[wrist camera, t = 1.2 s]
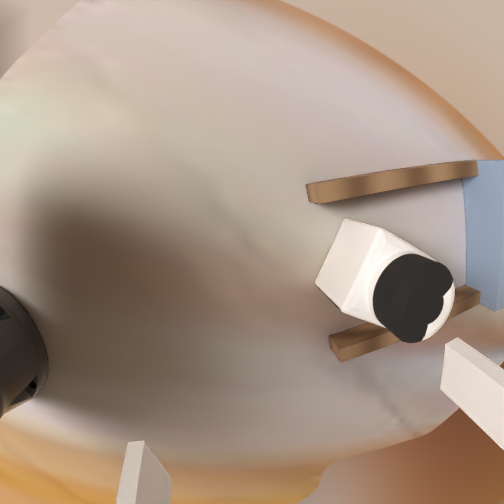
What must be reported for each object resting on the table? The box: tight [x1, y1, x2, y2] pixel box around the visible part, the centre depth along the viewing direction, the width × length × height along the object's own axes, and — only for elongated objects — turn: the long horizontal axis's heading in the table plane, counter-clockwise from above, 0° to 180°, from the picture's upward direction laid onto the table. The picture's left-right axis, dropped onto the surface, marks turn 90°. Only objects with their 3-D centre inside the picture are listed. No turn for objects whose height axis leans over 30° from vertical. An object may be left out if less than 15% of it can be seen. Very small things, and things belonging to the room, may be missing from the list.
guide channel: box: [306, 161, 481, 362], centre depth 29 cm, size 20×17×3 cm
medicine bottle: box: [315, 218, 455, 343], centre depth 24 cm, size 7×7×12 cm
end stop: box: [462, 160, 504, 312], centre depth 28 cm, size 2×17×6 cm, turn 12°
